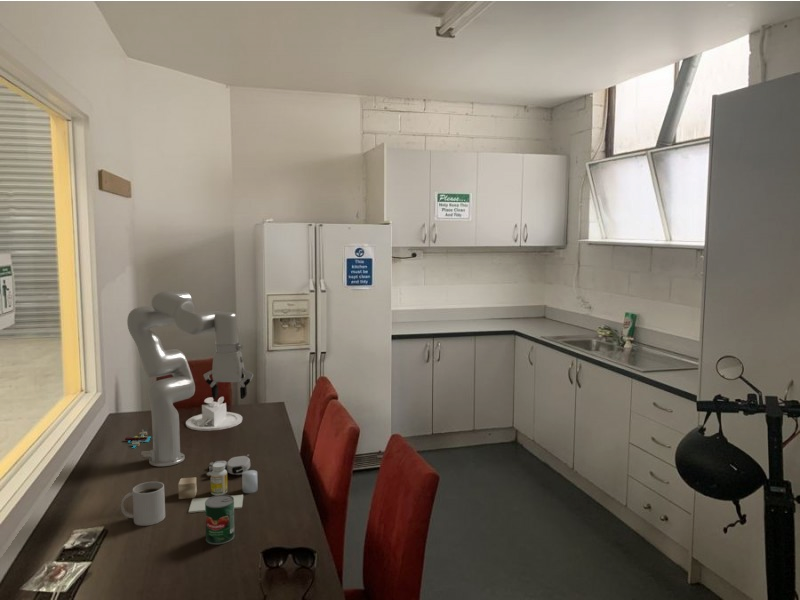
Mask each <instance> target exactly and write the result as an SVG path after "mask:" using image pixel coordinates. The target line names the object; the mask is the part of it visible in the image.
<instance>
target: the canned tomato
mask: <svg viewBox="0 0 800 600" xmlns="http://www.w3.org/2000/svg"><path fill="white" fill-rule="evenodd" d="M232 496H233V495H230V494H223V495H212V496H211V497H210V498H209V497H207V498H208V499H207V500H206V501H205V516H204V519H205V541H206V542H207V543H208V544H209V545H224V544H226V543H229V542H230V541H232V540H234V538H235V531H236V530H235V509H234V498H233V497H232Z"/></svg>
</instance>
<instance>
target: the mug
mask: <svg viewBox="0 0 800 600" xmlns="http://www.w3.org/2000/svg"><path fill="white" fill-rule="evenodd" d="M129 497H132V512H133V513H129V512H128V511H126V509H125V501H126V500H127V498H129ZM165 501H166V499H165V484H164V482H160V481H146V482H142V483H139V484H137V485H135V486H133V488H132V490H131V491H130V492H128V493H127V494H125V495H124V497H123V498H122V500H121V504H120V509H121V513H122V514H123V515H124V516H125V517H126V518H130V519H133V523H134V524H135V525H136V526H139V527H141V526H143V527H145V526H147V527H148V526H152V525H156V524H158V523H160V522H162V521H164V519H165V518H166V502H165Z"/></svg>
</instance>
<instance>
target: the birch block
mask: <svg viewBox="0 0 800 600" xmlns="http://www.w3.org/2000/svg"><path fill="white" fill-rule="evenodd" d="M177 486H178V499H179V500H183V499H184V500H186V499H196V495H197V492H198V489H197V488H198V486H197V477H196V476H195V477H182V478H180V479H179V481H178V484H177Z"/></svg>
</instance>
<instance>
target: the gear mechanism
mask: <svg viewBox="0 0 800 600" xmlns="http://www.w3.org/2000/svg"><path fill="white" fill-rule="evenodd" d="M141 431H142V432H139V434H138V435H134V436H132V437H131V436H130V437H129V436H128V437H125V438H124V440H125V441H127V444H128V443H132V444H130V445H131V446H133V447H131V446H130V447H131V449H132V448H135V447H136V446H137V447H140V444H144V443H143V442H148V443H149V442H150V440H151V439H152V436H148V431H144V429H142V430H141ZM140 435H141V436H140ZM144 435H147V436H144ZM145 438H146V439H145ZM150 438H151V439H150ZM131 440H132V441H131ZM134 440H138V441H134ZM141 440H145V441H141ZM130 441H131V442H130ZM140 442H142V443H140ZM137 447H136V448H137ZM136 448H135V449H136Z"/></svg>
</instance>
